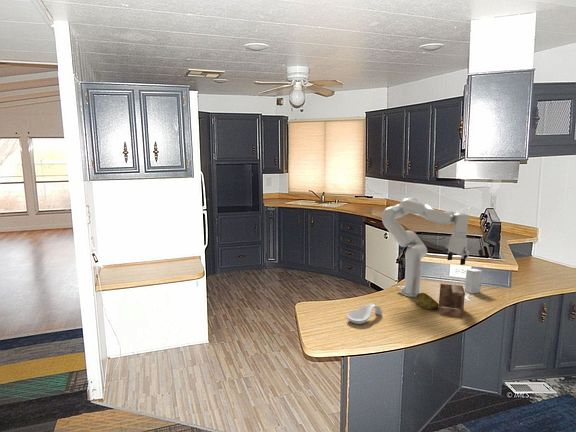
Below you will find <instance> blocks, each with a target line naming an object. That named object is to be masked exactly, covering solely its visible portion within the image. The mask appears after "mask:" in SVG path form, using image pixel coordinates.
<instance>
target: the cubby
mask: <svg viewBox="0 0 576 432" xmlns="http://www.w3.org/2000/svg"><path fill="white" fill-rule="evenodd" d="M465 298H466V291H465V287H464V286H463V285H460V284H459V285H458V284H450V283H449V284H448V283H442V282H441V283H440V285H439V297H438V304H439V315H445V316H446V315H447V316H451V317H453V316H454V317H460V318H462V317H463V316H464V310H465V309H464V308H465V307H464V306H465ZM453 307H454V308H453Z"/></svg>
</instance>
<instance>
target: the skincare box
mask: <svg viewBox="0 0 576 432" xmlns="http://www.w3.org/2000/svg"><path fill="white" fill-rule="evenodd" d="M482 275H483V270H480V269H478V268H471V269H470V268H467V269H466V274H465V285H464V292H465V293H466V292H467V293H469V294H476V293H477V294H478V293H481V288H482V287H481V286H482V277H483V276H482Z"/></svg>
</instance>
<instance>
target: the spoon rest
mask: <svg viewBox="0 0 576 432" xmlns="http://www.w3.org/2000/svg"><path fill="white" fill-rule="evenodd" d="M374 308H375V310H374V313H375V314H376V315H379V316H382V315H383V310H382V308H381V307H380V306H379V305H376V304H374V303H369V304H366V305H364V306H362V307H360V308H359V307H358V308H357V309H354V310H351V311H349V312H348V313H347V314H346V317H347V319H348V320H349V321H350V322H351V323H353V324H355V325H363V324H364V323H366V322H367V321H368V320H369V319H370V317H371V314H372V311H373V309H374Z"/></svg>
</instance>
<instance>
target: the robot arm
mask: <svg viewBox="0 0 576 432" xmlns="http://www.w3.org/2000/svg"><path fill="white" fill-rule="evenodd" d="M408 214H412V215H414V216H415V215H416V216H419V217H421V218H423V219H425V220H427V221H429V222H431V223H434V224H438V225H440V226H441V225H442V226H447V225H451V224H453V228H452V230H451V233H452V234H451V235H450V238H449V240H448V244H446V245H445V249H446V252H447V261H452V260H453V256H454V255H453V254H456V255H460V256H461V257H460V266H464V265H465V264H466V261H467V259H468V257H469V256H470V254H471V251H469V250H468V248H467V247H468V237H467V233H468V224H469V214H467V213H465V212H464V213H463V212H456V211H453V210H447V211H440V210H437V209H434V208H432V207H431V206H430V205H429V203H426V202H422V201H419V200H418V199H417V198H416V197H408V198H407V197H406V198H404V199H402V200H401V201H400V203H398V204H396V205H392V206H389V207H385V208H384V210H383V211H382V213H381V221H382V224H383V226H384V228H386V229H387V231H388V232H389V233H390V235H391V236H392V237H393V239H394V240H395V241H396V243H397V244H398V245H399V246H400V247H402V248H404V247H406V248H407V247H408V248H407V249H406V251H405V254H404V255H405V256H404V257H405V271H404V274H405V275H404V285H402V286H400V285H397V286H396V290H398V291H401V295H403V296H405V297H409V298H416V296H417V294H419V293H422V292H421V291H420V290H421V278H422V277H421V276H422V261H421V260H422V259H423V258H425V257H426V256H427V255H428V248H427V246H426V245H425V244H424V242H423V241H422V239H420V237H419V236H418V235H417V234H416V233H415V232H414V231H413V230H405V228H404V227H403V226H402V225H401V223H399V222H398V221H397V219H400V218H402V217H404V216H406V215H408Z"/></svg>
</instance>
